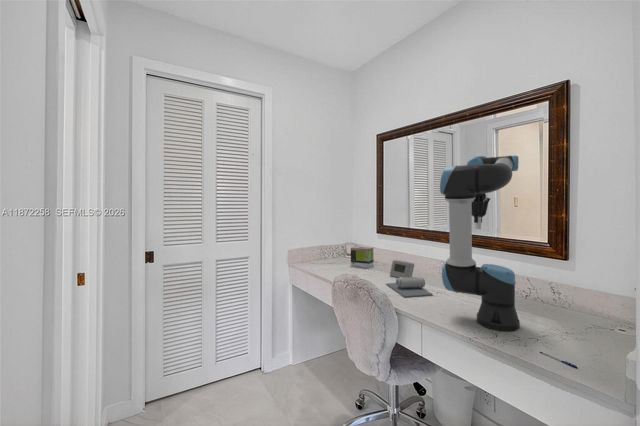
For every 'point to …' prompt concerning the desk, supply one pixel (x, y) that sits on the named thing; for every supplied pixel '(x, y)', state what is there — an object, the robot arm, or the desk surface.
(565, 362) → the screwdriver
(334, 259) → the desk surface
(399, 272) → the digital clock
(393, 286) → the rubber mat
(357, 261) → the tea box
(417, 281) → the energy drink can
